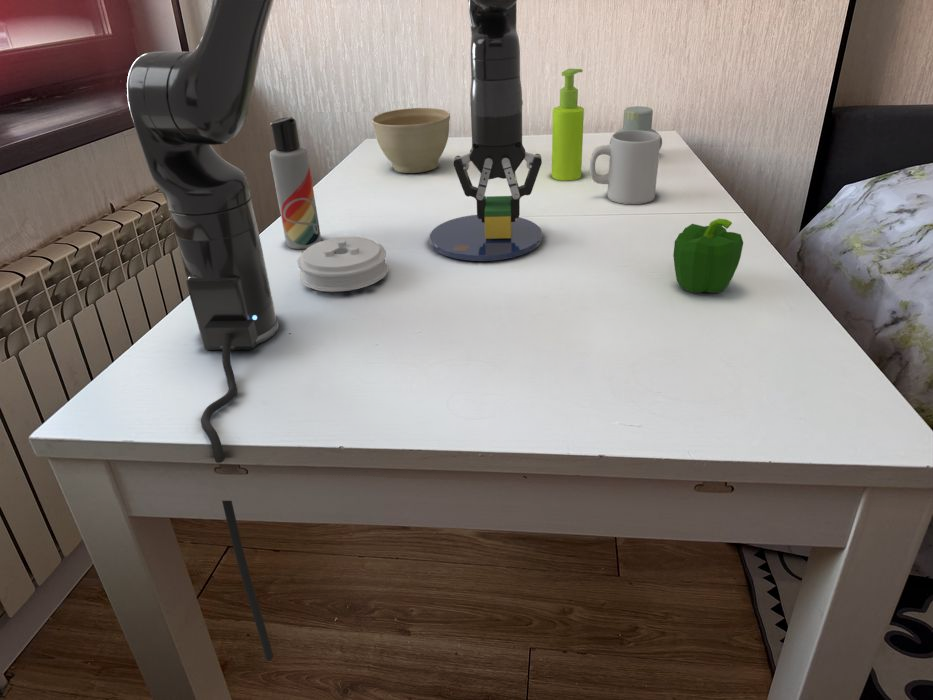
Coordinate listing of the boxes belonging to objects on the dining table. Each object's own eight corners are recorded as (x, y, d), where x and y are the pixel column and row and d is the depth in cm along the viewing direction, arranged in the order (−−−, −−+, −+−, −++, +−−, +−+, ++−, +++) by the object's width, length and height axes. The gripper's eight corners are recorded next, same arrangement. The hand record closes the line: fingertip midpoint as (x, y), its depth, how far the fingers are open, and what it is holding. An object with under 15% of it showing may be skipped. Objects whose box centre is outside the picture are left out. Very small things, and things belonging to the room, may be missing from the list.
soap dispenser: (587, 172, 141) (592, 67, 131) (573, 182, 136) (577, 73, 126) (561, 169, 144) (564, 66, 134) (546, 178, 139) (548, 72, 129)
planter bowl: (410, 154, 159) (406, 104, 154) (467, 163, 151) (465, 111, 145) (362, 172, 148) (355, 119, 143) (420, 183, 140) (416, 128, 134)
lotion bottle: (313, 250, 112) (292, 122, 101) (280, 249, 113) (256, 122, 102) (326, 237, 116) (307, 113, 106) (294, 236, 117) (273, 113, 107)
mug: (650, 188, 131) (655, 129, 125) (659, 204, 123) (665, 141, 118) (586, 190, 131) (588, 131, 126) (590, 205, 124) (593, 143, 118)
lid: (284, 291, 99) (277, 258, 96) (330, 257, 109) (325, 226, 106) (362, 302, 95) (357, 269, 92) (403, 266, 105) (400, 235, 102)
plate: (543, 262, 104) (543, 254, 103) (424, 263, 105) (423, 256, 105) (540, 219, 119) (540, 212, 119) (436, 221, 121) (435, 214, 120)
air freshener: (633, 148, 155) (637, 102, 150) (665, 155, 150) (670, 106, 144) (603, 159, 149) (606, 111, 144) (635, 166, 143) (639, 116, 138)
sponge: (511, 238, 108) (510, 210, 106) (485, 238, 109) (484, 211, 106) (511, 222, 114) (510, 195, 112) (487, 222, 115) (486, 196, 112)
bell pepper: (656, 281, 96) (664, 212, 91) (704, 269, 99) (714, 201, 94) (696, 306, 90) (707, 233, 85) (747, 292, 92) (760, 221, 87)
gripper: (445, 116, 99) (452, 230, 108) (546, 113, 98) (544, 228, 107) (450, 105, 105) (455, 213, 114) (544, 101, 104) (542, 211, 113)
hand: (498, 220), depth 110 cm, fingers closed on sponge, 4 cm apart
